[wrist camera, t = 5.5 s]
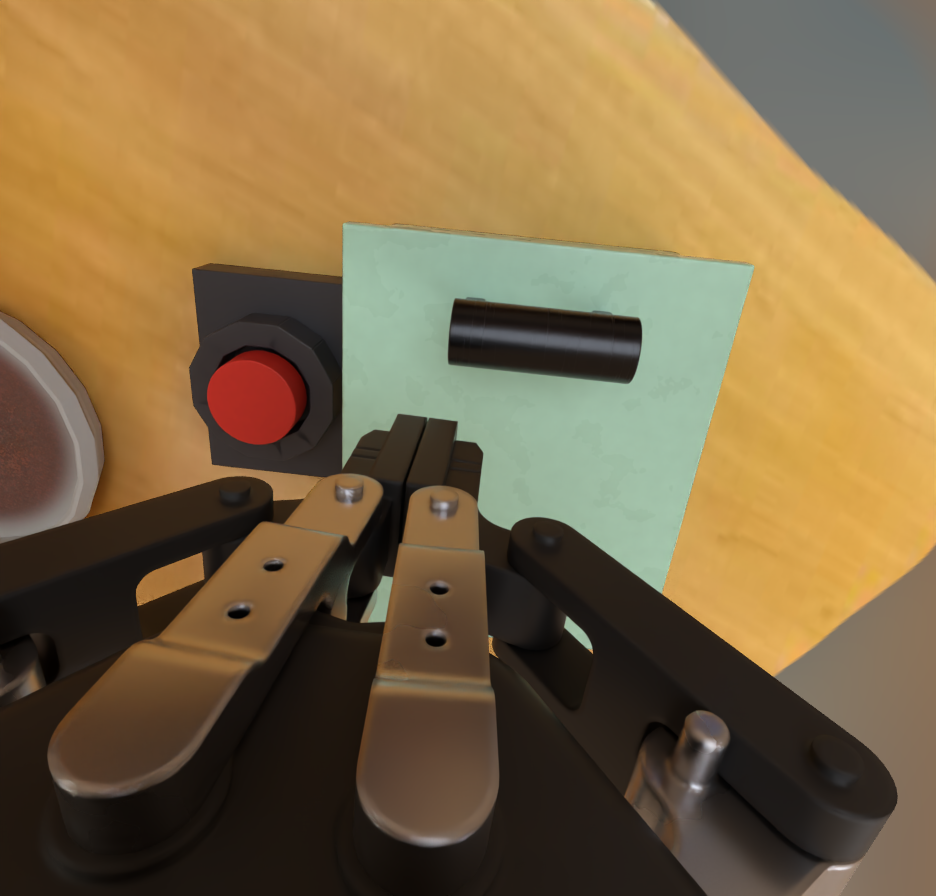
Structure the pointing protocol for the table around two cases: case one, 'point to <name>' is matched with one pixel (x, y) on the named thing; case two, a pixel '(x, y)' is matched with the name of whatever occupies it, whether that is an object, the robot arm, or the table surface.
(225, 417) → the release button
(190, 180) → the table surface
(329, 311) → the control block
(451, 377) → the green box lid
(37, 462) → the shallow round dish
